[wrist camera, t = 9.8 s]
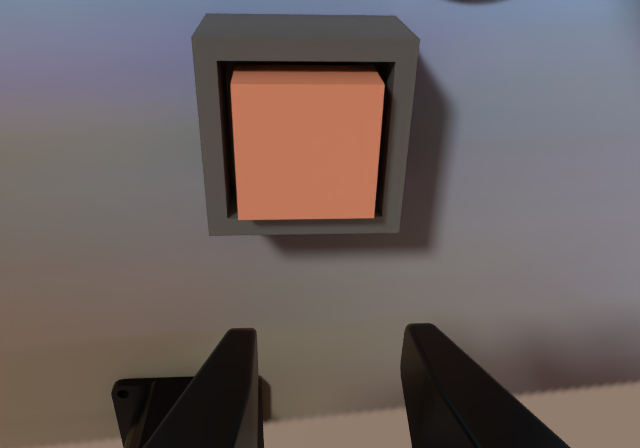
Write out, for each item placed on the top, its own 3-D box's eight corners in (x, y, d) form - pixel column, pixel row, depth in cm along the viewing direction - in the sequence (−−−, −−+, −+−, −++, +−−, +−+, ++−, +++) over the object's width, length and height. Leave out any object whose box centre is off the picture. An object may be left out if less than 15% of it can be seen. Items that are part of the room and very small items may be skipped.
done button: (364, 188, 18) (373, 218, 17) (241, 189, 18) (238, 220, 16) (373, 65, 16) (384, 84, 15) (235, 64, 16) (230, 84, 14)
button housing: (381, 184, 21) (399, 232, 18) (219, 186, 21) (209, 235, 17) (395, 15, 18) (419, 39, 15) (205, 13, 18) (191, 37, 14)
